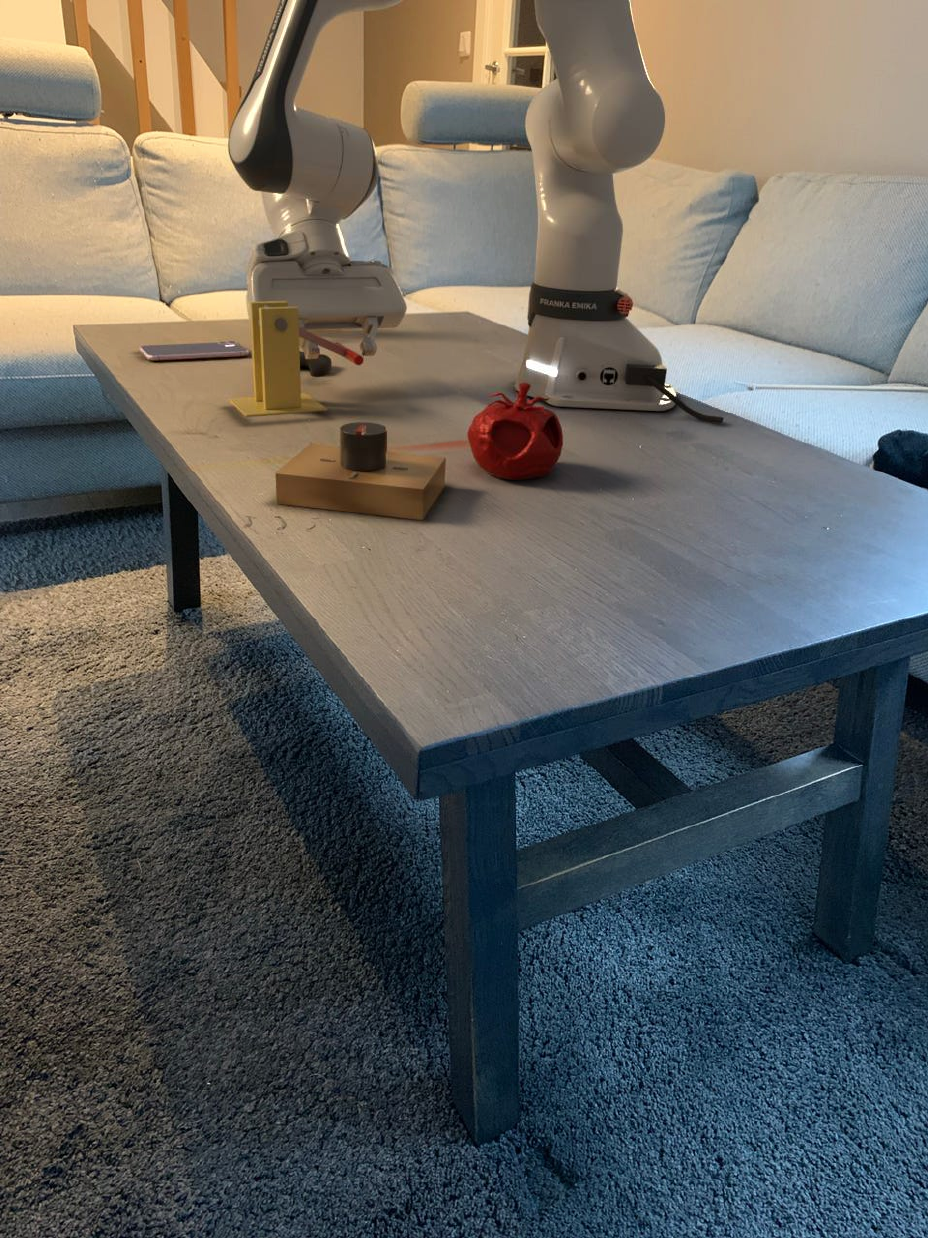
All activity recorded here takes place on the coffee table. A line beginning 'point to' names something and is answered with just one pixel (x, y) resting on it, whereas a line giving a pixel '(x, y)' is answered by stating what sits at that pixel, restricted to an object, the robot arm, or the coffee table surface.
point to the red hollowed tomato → (516, 437)
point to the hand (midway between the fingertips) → (342, 354)
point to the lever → (330, 345)
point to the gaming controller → (316, 364)
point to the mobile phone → (193, 351)
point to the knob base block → (361, 483)
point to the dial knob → (363, 446)
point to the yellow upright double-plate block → (275, 363)
